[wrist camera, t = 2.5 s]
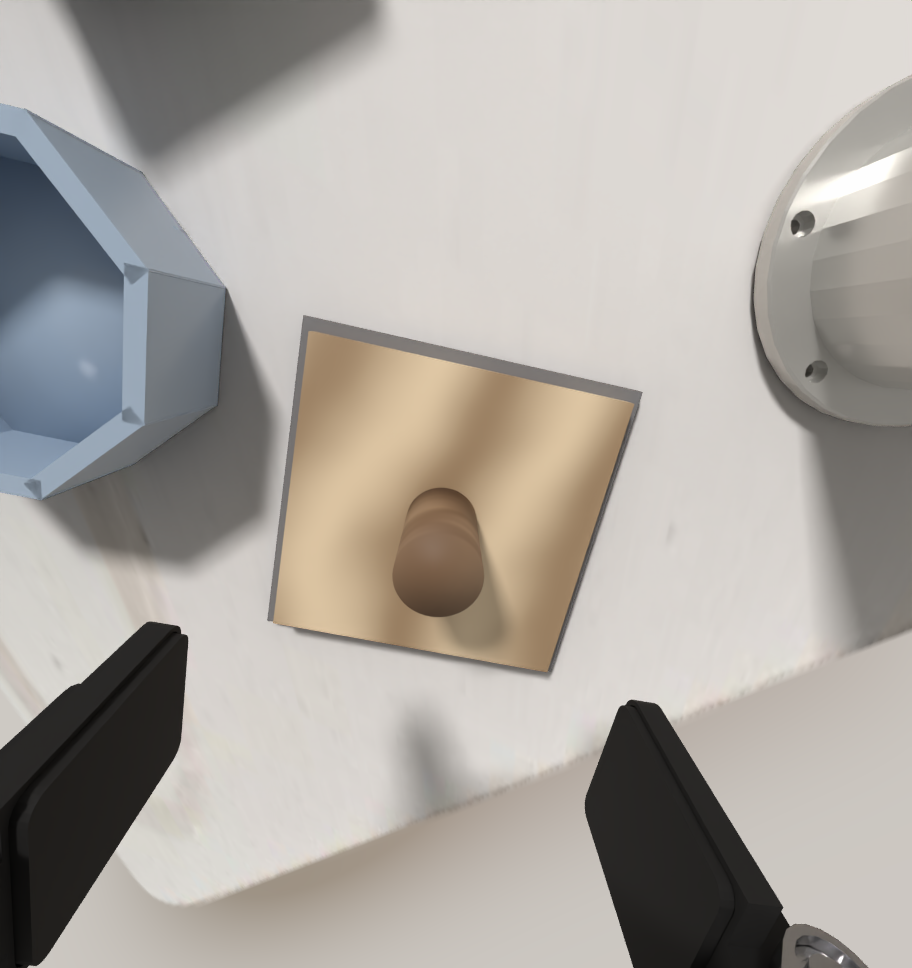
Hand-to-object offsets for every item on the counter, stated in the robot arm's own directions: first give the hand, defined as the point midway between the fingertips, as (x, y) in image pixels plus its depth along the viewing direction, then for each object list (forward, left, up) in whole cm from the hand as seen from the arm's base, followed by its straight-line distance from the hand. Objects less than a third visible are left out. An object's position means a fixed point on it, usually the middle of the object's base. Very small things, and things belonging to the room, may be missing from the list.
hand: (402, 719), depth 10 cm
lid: (-1, 0, -12) cm, 12 cm away
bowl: (+15, -5, -12) cm, 20 cm away
